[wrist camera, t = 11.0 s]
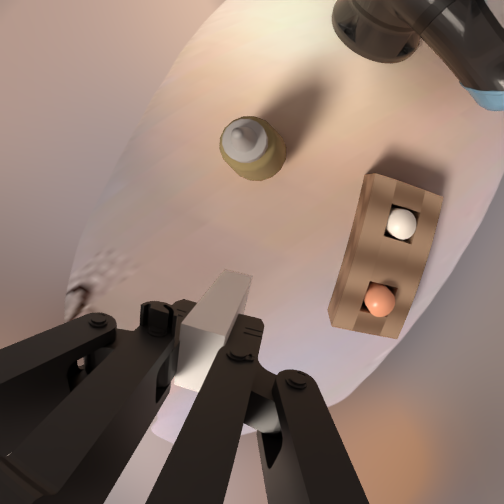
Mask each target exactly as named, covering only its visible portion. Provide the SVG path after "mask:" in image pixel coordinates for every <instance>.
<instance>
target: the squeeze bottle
mask: <svg viewBox="0 0 504 504" xmlns="http://www.w3.org/2000/svg"><path fill="white" fill-rule="evenodd" d="M220 152H221V154H222V157H223V159H224V160H225V161H226V162H227V164H228V165H229V166H230V167H231V168H232V169H233V170H234V171H235V172H236V173H237V174H238V175H239V176H241V177H243V178H246V179H248V180H252V181H262V180H265V179H268V178H271V177H273V176H274V175H275V174H276V173H277V172H278V171H279V170H281V168H282V166H283V163H284V161H285V159H286V146H285V144H284V141H283V139H282V137H281V136H280V135H279V134H278V133H277V132H276V131H275V130H274V129H273V128H272V127H271V126H270V125H269V124H268V123H267V122H266V121H265V120H262V119H260V118H257V117H254V116H243V117H241V118H238V119H236V120H233V121H232V122H231V123H230V124H229V125H228V126H227V127H225V129H224V131H223V133H222V135H221V137H220Z"/></svg>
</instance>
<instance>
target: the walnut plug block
mask: <svg viewBox="0 0 504 504" xmlns="http://www.w3.org/2000/svg"><path fill="white" fill-rule="evenodd" d="M442 201H443V197H442V196H439V195H436V194H434V193H431V192H429V191H426V190H423V189H421V188H418V187H415V186H412V185H410V184H407V183H404V182H401V181H398V180H395V179H392V178H389V177H386V176H383V175H380V174H377V173H373V174H367V175H365V176H364V180H363V185H362V189H361V193H360V198H359V202H358V206H357V210H356V214H355V218H354V222H353V226H352V229H351V233H350V237H349V241H348V244H347V248H346V251H345V255H344V258H343V262H342V265H341V269H340V272H339V275H338V278H337V282H336V285H335V288H334V291H333V294H332V298H331V301H330V304H329V307H328V314H329V318H330V321H331V325H332V327H337V328H342V329H347V330H352V331H357V332H362V333H367V334H372V335H377V336H383V337H388V338H394V339H398V336H399V334H400V332H401V329H402V327H403V325H404V322H405V320H406V317H407V315H408V312H409V310H410V307H411V305H412V302H413V299H414V297H415V294H416V291H417V288H418V286H419V283H420V280H421V277H422V274H423V271H424V268H425V265H426V262H427V258H428V255H429V252H430V248H431V245H432V241H433V238H434V234H435V230H436V226H437V223H438V219H439V214H440V210H441V206H442ZM391 205H394V206H397V207H400V208H403V209H405V210H408V211H410V212H411V213H412V214H413V215H414V217H415V219H416V230H415V232H414V234H413V235H412V236H411V237H410V238H408V239H398V238H396V237H394V236H391V235H388V234H385V233H384V232H385V228H386V225H387V221H388V217H389V213H390V209H391ZM370 281H372V282H376V283H380V284H384V285H385V286H386V287H387V288H388V289H389V290H390V291H391V293H392V294H393V295H394V297H395V306H394V308H393V310H392V311H391V312H390V313H389V314H388V315H386V316H383V317H376V316H374V315H372V314H371V313H370V311H369V309H368V308H367V306H366V304H365V302H364V301H363V300H364V297H365V294H366V291H367V288H368V285H369V282H370Z"/></svg>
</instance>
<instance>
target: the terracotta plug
mask: <svg viewBox="0 0 504 504" xmlns="http://www.w3.org/2000/svg"><path fill="white" fill-rule="evenodd" d="M363 301H364V302H365V304H366V306H367V308H368V309H369V311H370V313H371V314H372V315H374V316H376V317H383V316H386V315H388V314H389V313H390V312H391V311H392V310H393V308H394V306H395V297H394V295H393V294H392V293H391V291H390V290H389V289H388V288H387V287H386V286H385V285H384V284H380V283H376V282H372V281H370V282H369V285H368V288H367V291H366V294H365V297H364V300H363Z"/></svg>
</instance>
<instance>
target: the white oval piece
mask: <svg viewBox="0 0 504 504" xmlns="http://www.w3.org/2000/svg"><path fill="white" fill-rule="evenodd" d="M415 230H416V219H415V217H414V215H413V214H412V213H411V212H410V211H408V210H404V209H399V208H395V207H391V209H390V213H389V217H388V221H387V225H386V228H385V232H387V233H389V234H391V235H392V236H394V237H396V238H398V239H408V238H410V237H411V236H412V235H413V234H414V232H415Z"/></svg>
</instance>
